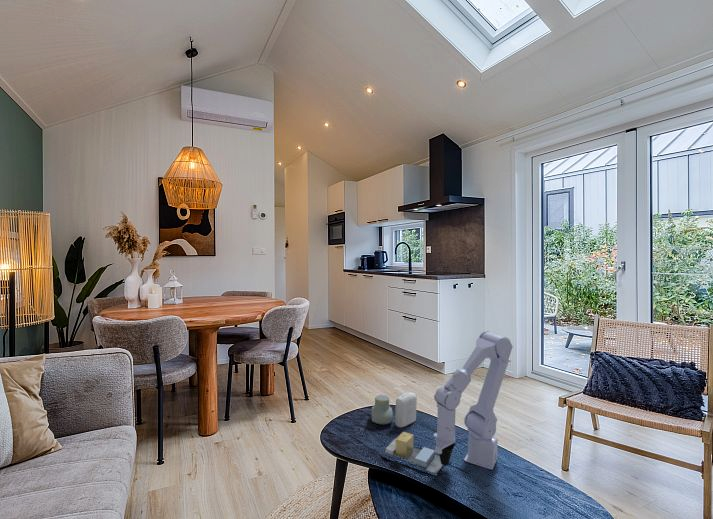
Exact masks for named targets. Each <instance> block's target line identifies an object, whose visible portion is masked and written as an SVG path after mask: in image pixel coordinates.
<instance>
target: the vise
mask: <svg viewBox="0 0 713 519" xmlns="http://www.w3.org/2000/svg"><path fill="white" fill-rule="evenodd" d="M396 438H397V437H396ZM396 438H395V437H394V439H393V440H392V441H391V442H390V443H389V445H387V446H386V448H385V450H384V451H385V453H386V454H389V455H392V456H394V455H395V454H396ZM421 450H422V449H418V448H416V447H413V452H412V453H411V454H410V455H409V457H408V458H407V459H408V461H409V462H413V463H414V464H415V457H416V456H417V455H418V454H419V452H420V451H421ZM416 466H417V464H416ZM418 466H419V465H418ZM442 466H443V465H442V464H441V461H440V456H439V454H438V455H437V454H435V456H434V458H433V459H432V460H431V462H430V463H429V464H428V466H427V467H426V468H425V467H422V466H419V467H421V469H422V468H423V469H424V470H427V471H429V472H432V473H435V474H437V473H438V472H439V470H440V469H441V468H442ZM443 467H444V466H443ZM442 469H443V468H442ZM442 469H441V470H442ZM439 473H440V472H439Z"/></svg>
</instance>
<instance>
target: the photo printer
mask: <svg viewBox="0 0 713 519" xmlns="http://www.w3.org/2000/svg"><path fill="white" fill-rule="evenodd" d="M417 399H418V398H417V394H416V393H415V392H411V391H409V392H405V393H403V394H401V395H400V396H398V397H397V398H396V400H395V411H394V412H395V418H394V420H395V422H394V423H395V426H396V427H397V428H404V427H406V426H408V425H411V424H413V423H414V422H416V420H417V404H418V403H417V401H418V400H417Z"/></svg>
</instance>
